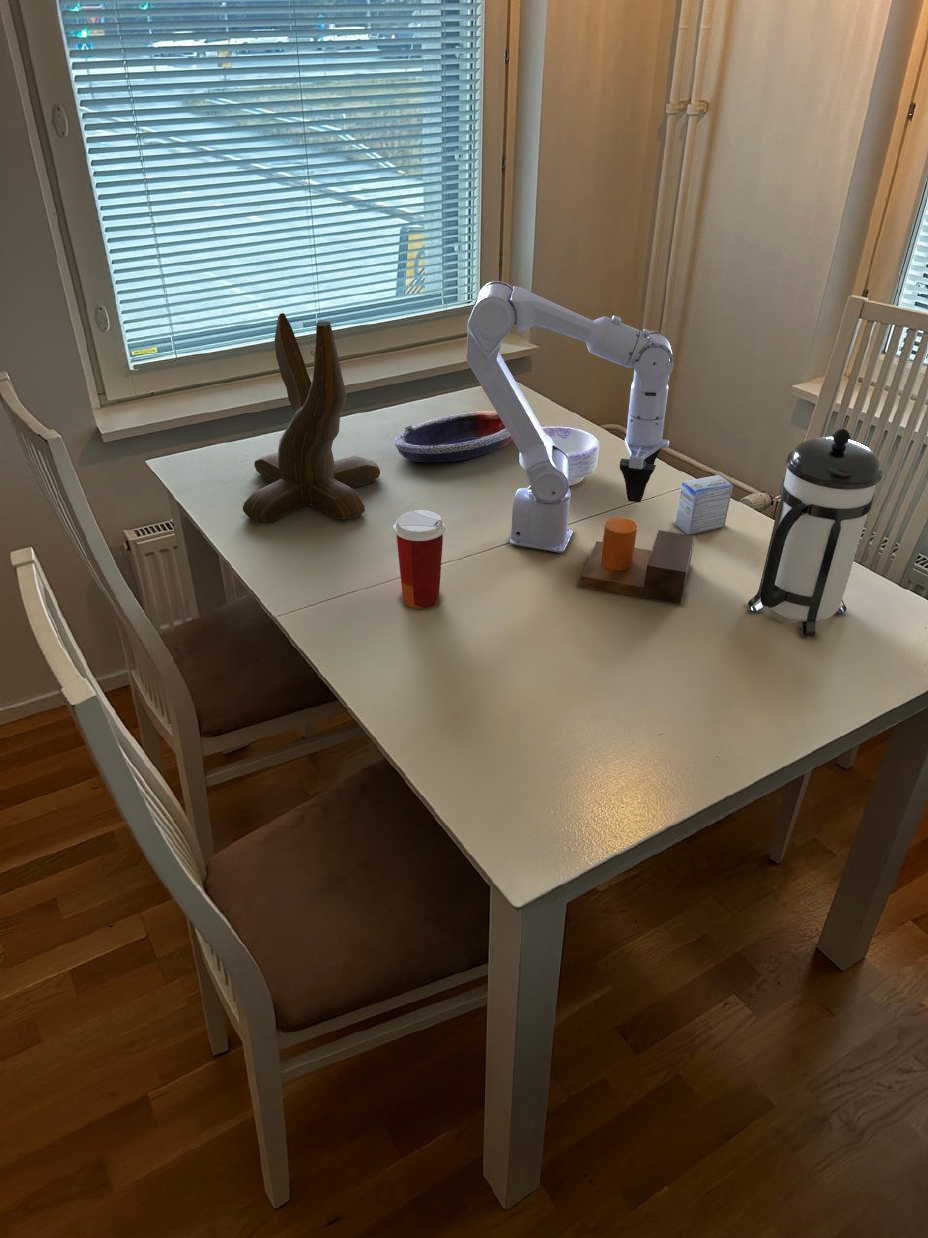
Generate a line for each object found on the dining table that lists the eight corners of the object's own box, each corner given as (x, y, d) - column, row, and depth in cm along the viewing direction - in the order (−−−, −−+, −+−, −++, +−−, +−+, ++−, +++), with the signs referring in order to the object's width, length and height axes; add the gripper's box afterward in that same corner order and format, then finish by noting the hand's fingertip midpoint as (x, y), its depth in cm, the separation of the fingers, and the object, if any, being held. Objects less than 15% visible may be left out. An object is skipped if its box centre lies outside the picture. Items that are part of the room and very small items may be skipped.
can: (629, 573, 147) (634, 535, 143) (597, 567, 149) (601, 529, 145) (634, 557, 151) (639, 520, 148) (603, 552, 153) (607, 515, 149)
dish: (379, 449, 191) (378, 426, 188) (503, 421, 204) (504, 399, 201) (415, 477, 180) (414, 453, 177) (543, 446, 193) (545, 423, 190)
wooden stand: (414, 503, 171) (410, 312, 151) (271, 545, 157) (246, 342, 137) (341, 448, 190) (329, 274, 171) (208, 482, 177) (178, 297, 157)
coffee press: (733, 581, 149) (770, 405, 132) (834, 588, 148) (884, 411, 131) (749, 644, 135) (793, 456, 118) (861, 651, 134) (921, 462, 117)
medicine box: (710, 517, 168) (718, 473, 163) (725, 527, 164) (734, 484, 160) (674, 524, 165) (681, 481, 160) (688, 536, 162) (696, 491, 157)
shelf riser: (580, 586, 148) (583, 554, 144) (595, 551, 157) (598, 520, 154) (680, 604, 144) (686, 572, 140) (689, 567, 153) (695, 535, 150)
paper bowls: (565, 455, 189) (568, 418, 185) (611, 483, 179) (615, 445, 174) (503, 470, 183) (505, 433, 178) (547, 501, 172) (550, 462, 168)
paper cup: (452, 591, 146) (452, 513, 138) (435, 616, 140) (434, 536, 132) (406, 582, 148) (404, 504, 140) (387, 607, 142) (384, 527, 134)
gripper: (665, 433, 139) (655, 513, 146) (678, 400, 150) (668, 475, 158) (619, 428, 140) (611, 507, 148) (635, 395, 152) (627, 470, 159)
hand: (638, 490), depth 153 cm, fingers open, 7 cm apart
